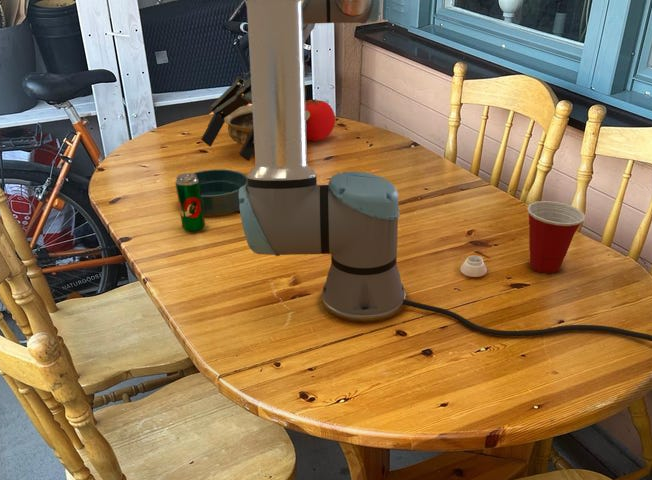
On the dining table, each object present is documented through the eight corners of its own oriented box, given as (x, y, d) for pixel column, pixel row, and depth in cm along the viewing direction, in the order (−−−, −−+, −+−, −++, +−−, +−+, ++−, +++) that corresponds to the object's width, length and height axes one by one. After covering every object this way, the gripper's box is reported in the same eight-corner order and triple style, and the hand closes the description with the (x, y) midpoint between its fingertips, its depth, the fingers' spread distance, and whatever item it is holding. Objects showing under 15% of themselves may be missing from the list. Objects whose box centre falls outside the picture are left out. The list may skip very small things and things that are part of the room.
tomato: (343, 137, 204) (343, 98, 198) (311, 148, 197) (310, 109, 190) (315, 129, 211) (313, 91, 205) (283, 139, 204) (281, 101, 197)
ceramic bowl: (326, 162, 188) (325, 125, 183) (239, 174, 182) (235, 136, 176) (294, 130, 212) (292, 96, 206) (216, 139, 205) (212, 104, 199)
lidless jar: (476, 281, 134) (491, 272, 137) (477, 267, 133) (492, 258, 135) (455, 272, 137) (470, 264, 140) (456, 259, 135) (471, 250, 138)
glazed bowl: (265, 202, 167) (264, 181, 164) (208, 224, 157) (205, 202, 154) (222, 184, 177) (220, 164, 174) (165, 203, 167) (162, 182, 164)
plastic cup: (584, 277, 135) (596, 219, 128) (530, 282, 134) (540, 224, 127) (560, 251, 144) (571, 196, 137) (510, 256, 142) (518, 201, 135)
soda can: (210, 226, 156) (203, 175, 149) (195, 235, 153) (187, 182, 146) (193, 222, 158) (185, 170, 151) (177, 230, 155) (169, 178, 148)
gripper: (320, 85, 148) (271, 172, 148) (246, 66, 163) (202, 146, 163) (300, 63, 142) (249, 154, 142) (225, 45, 156) (179, 128, 157)
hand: (224, 150), depth 153 cm, fingers open, 13 cm apart
